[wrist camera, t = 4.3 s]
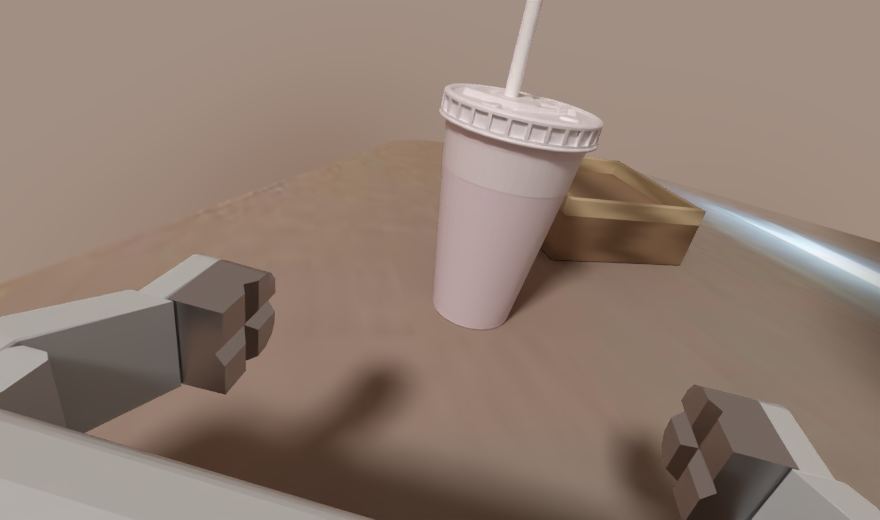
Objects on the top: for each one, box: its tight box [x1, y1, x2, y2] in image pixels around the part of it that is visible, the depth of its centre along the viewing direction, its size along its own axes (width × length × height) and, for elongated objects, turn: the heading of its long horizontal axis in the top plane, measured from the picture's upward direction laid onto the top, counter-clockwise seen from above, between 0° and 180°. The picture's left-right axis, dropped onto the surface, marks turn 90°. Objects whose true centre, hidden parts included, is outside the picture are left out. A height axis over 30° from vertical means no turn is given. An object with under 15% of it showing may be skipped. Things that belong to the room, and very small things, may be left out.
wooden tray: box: [541, 157, 706, 265], centre depth 34 cm, size 10×10×4 cm
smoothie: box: [433, 0, 603, 330], centre depth 20 cm, size 6×6×14 cm
